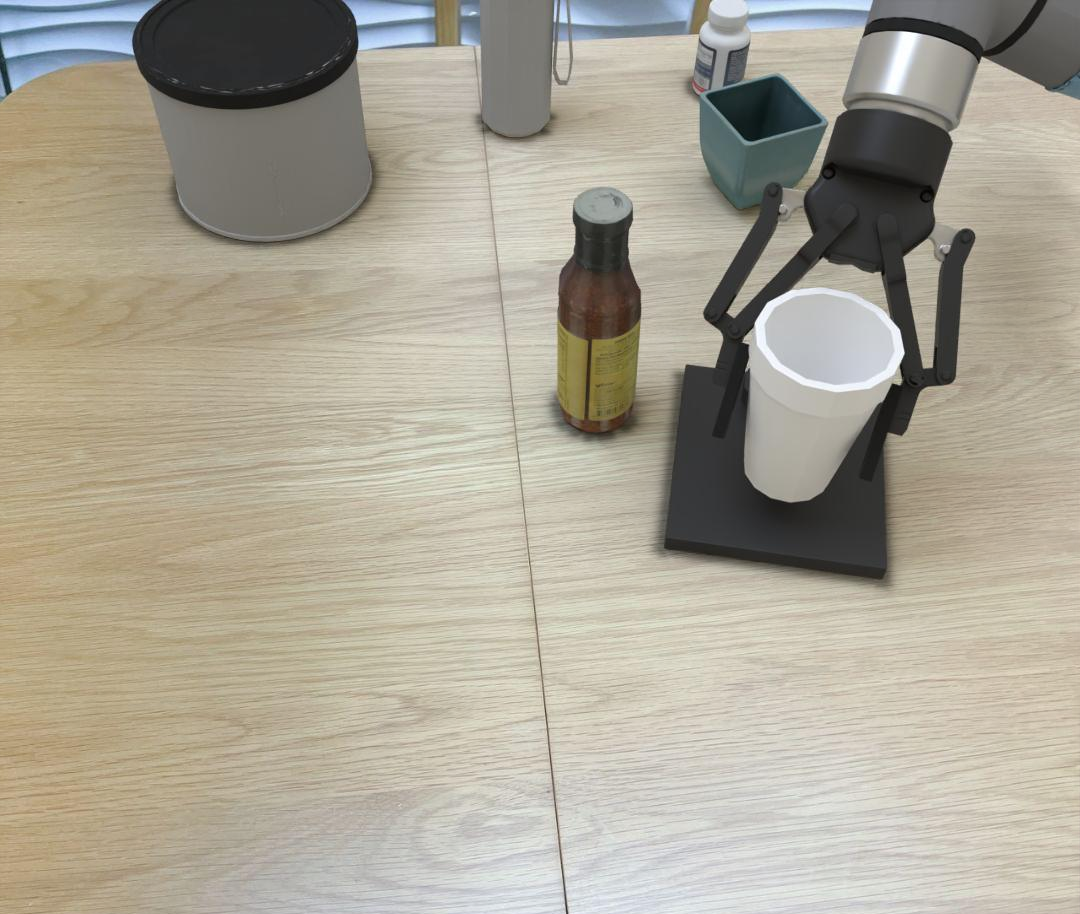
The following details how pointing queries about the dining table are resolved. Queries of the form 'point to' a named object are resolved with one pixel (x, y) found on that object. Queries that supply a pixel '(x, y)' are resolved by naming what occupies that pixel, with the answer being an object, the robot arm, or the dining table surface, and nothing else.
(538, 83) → the water bottle
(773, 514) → the scale
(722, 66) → the pill bottle
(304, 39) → the container
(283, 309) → the dining table surface
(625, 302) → the sauce bottle
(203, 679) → the dining table surface
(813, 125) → the flower pot
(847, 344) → the foam cup
